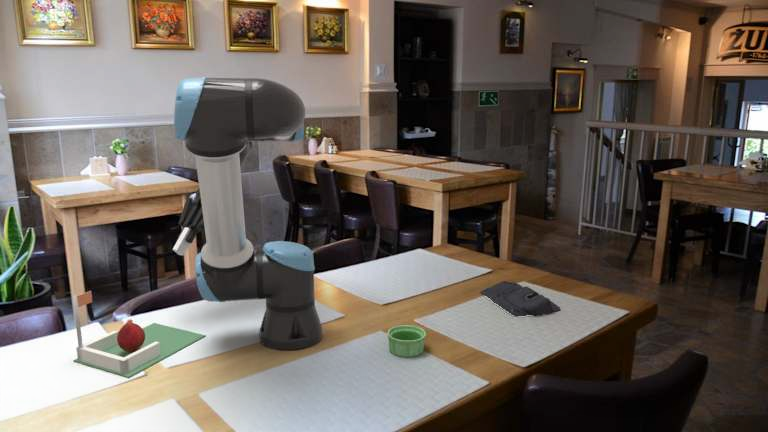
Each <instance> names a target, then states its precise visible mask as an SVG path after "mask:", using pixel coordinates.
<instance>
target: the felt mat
mask: <svg viewBox="0 0 768 432" xmlns="http://www.w3.org/2000/svg"><path fill="white" fill-rule="evenodd" d="M141 328H142V329H143V330H144V332H145V340H144V343H143V345H142V346H141V347H140V348H139V349H138V350H140V349H142V348H144V347H146V346H148V345H150V344H152V343H154V342H160V351H161V355H159V356H157V357H156V358H154V359H152V360H150V361H148V362H146V363H144V364H142V365H140V366H139V367H137V368H135V369H133V370H131V371H129V372H127V373H125V374H123V373H119V372H116V371H113V370H109V369H106V368H103V367H99V366H96V365H93V364H89V363H86V362H83V361H79V360H78V357H77V358H75V359H73V362H74V363H77V364H80V365H83V366H87V367H90V368H94V369H97V370H100V371H104V372H107V373H111V374H114V375H116V376H120V377H123V378H126V379H130V378H132V377H134V376H135V375H137V374H139V373H141V372H143V371H144V370H145V371H146V370H148V369H149V368H150V367H153V366H154V365H156V364H157V363H159V362H161V361H164V360H165V359H167V358H169V357H171V356H172V355H174V354H176V353H177V352H179V351H181V350H183V349H186V348H187V347H188V346H191V345H193V344H194V343H196V342H198V341H200V340H201V339H203V338H206V334H202V333H197V332H193V331H189V330H186V329H181V328H177V327H173V326H170V325H169V326H168V325H164V324H160V323H156V322H153V323H150V324H149V325H147V326H145V327H141ZM138 350H137V351H138ZM103 352H106V353H110V354H113V355H117V356H120V357H126V356H128V355H130V354H132V353H131V352H127V351H125V350H123V349H121V348H120V346H119V345H118V344H117V345H115V346H113V347H111V348H109V349H107V350H104V351H103Z"/></svg>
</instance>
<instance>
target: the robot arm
mask: <svg viewBox="0 0 768 432" xmlns="http://www.w3.org/2000/svg"><path fill="white" fill-rule="evenodd" d="M173 112H174V116H173V131H174V136H175V137H174V138H175V139H176V140H179V141H181V142H183V141H184V142H185V147H186V151H187V152H188V153H189V154H191V155H192V156H194V157H195V165H196V172H197V181H198V186H199V187H198V188H197V189H196V191H195V192H194V193H193V194H190V193H189V192H188V193H186V195H185V203H184V206H183V207H182V211H181V214H180V218H179V221H178V225H179V226H180V227H181V228H182V229H181V230H180V233H179V234H178V235H177V240H176V242H175V244H174V246H173V248H172V251H174V253H176V255H178V256H184V255H185V254H186V252H187V249H188V248H189V246H190V244H192V243H193V242H194V240H195V239H196V237H197V236H198V234H199V233H200V232H203V233H204V234H205V240H206V242H205V243H204V244H203V246H202V248H201V251H200V252H199V253H198V254H196V256H195V260H194V261H195V262H194V271H195V276H196V283H197V288H198V291H199V294H200V295H201V297H202V299H204V300H205V301H207V302H216V303H217V302H219V303H226V302H234V301H235V302H237V301H249V300H250V301H251V300H253V301H254V300H265V312H264V315H263V318H262V321H261V324H260V328H259V341H260V342H261V344H262V345H263V346H265V347H268V348H270V349H274V350H281V351H294V350H300V349H304V348H308V347H311V346H313V345H315V344H317V343H319V342H320V341H321V340H322V338H323V324H322V322H321V320H320V318H319V317H320V316H319V314H318V311H317V308H316V305H315V274H314V273H315V269H316V267H315V261H314V253H313V251H312V250H311V249H310V248H309V247H308V246H306V245H304V244H301V243H298V242H294V241H293V242H292V241H283V240H281V241H280V240H276V241H269V242H266V243H265V244H264V245H263V247H262V249H254V246H253V244H252V242H251V241H250V240H249V239H247V235H246V234H247V233H246V223H245V221H246V220H245V211H244V208H245V207H244V199H243V198H244V195H243V186H242V185H243V184H242V172H241V168H242V167H243V165H244V164H245V162H246V160H247V158H248V156H249V155H250V153H251V151H252V150H253V148H254V144H255V142H256V143H257V142H289V143H290V142H291V143H292V142H301V141H302V140H304V135H305V132H304V131H305V127H304V124H305V123H304V121H305V119H306V118H305V117H306V107H305V104H304V102H303V99H302V98H301V97H300V95H298V94H297V92H295V91H294V90H292V89H291V88H290V87H288V86H286V85H284V84H281V83H279V82H276V81H275V80H274V81H273V80H270V79H266V78H259V77H258V78H254V77H253V78H245V77H244V78H243V77H242V78H241V77H239V78H238V77H232V78H231V77H227V78H226V77H205V76H202V77H195V78H193V77H192V78H191V77H190V78H184V79H182V80H181V81H179V83H178V86H177V89H176V93H175V100H174V111H173Z"/></svg>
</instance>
